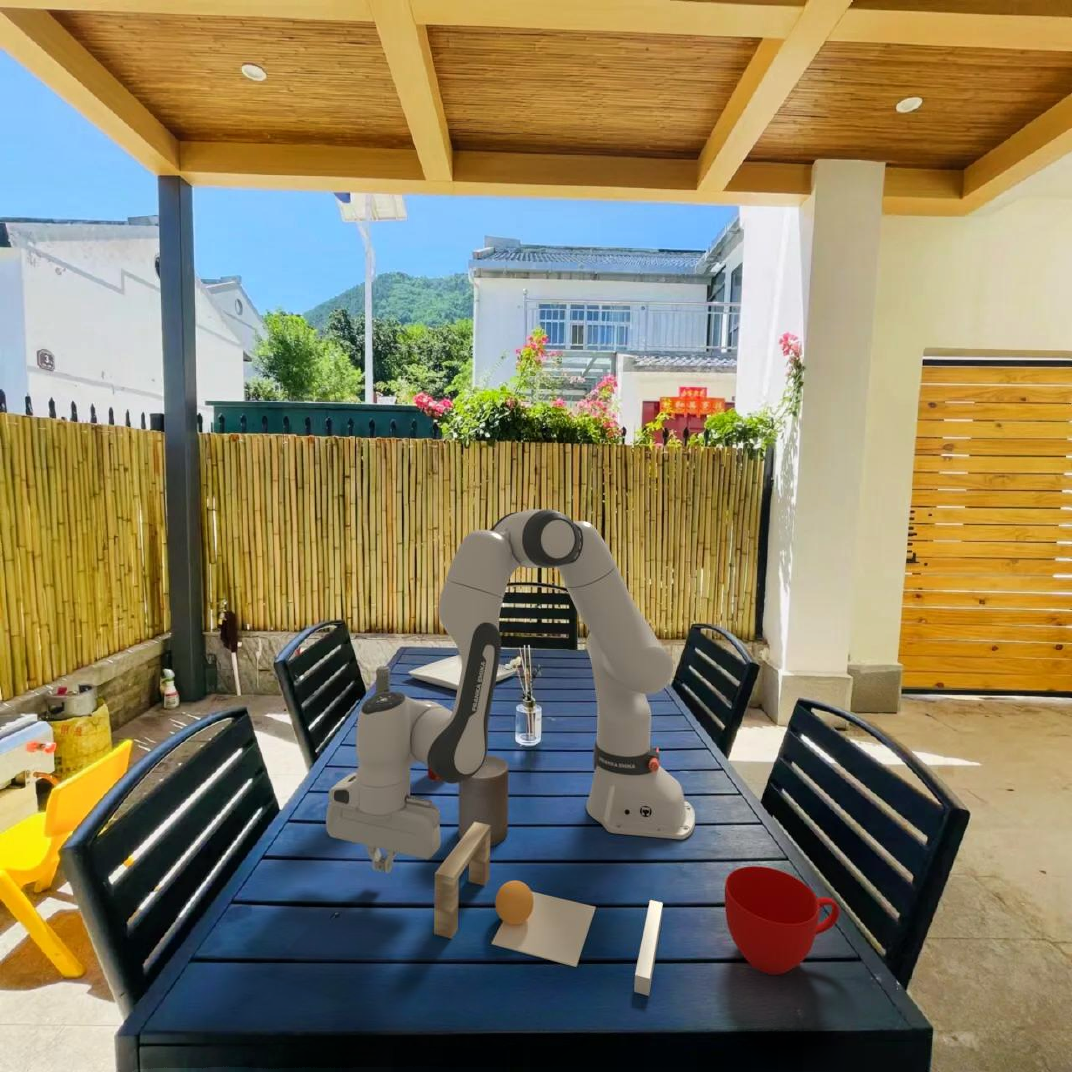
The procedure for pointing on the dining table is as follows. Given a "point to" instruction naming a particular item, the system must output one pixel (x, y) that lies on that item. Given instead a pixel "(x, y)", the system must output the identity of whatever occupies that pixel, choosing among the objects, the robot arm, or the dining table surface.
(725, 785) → the dining table surface
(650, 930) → the wall
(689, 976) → the dining table surface
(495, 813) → the pillar candle
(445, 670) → the square plate
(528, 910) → the ball
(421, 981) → the dining table surface
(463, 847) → the bridge
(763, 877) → the ceramic cup
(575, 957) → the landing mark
